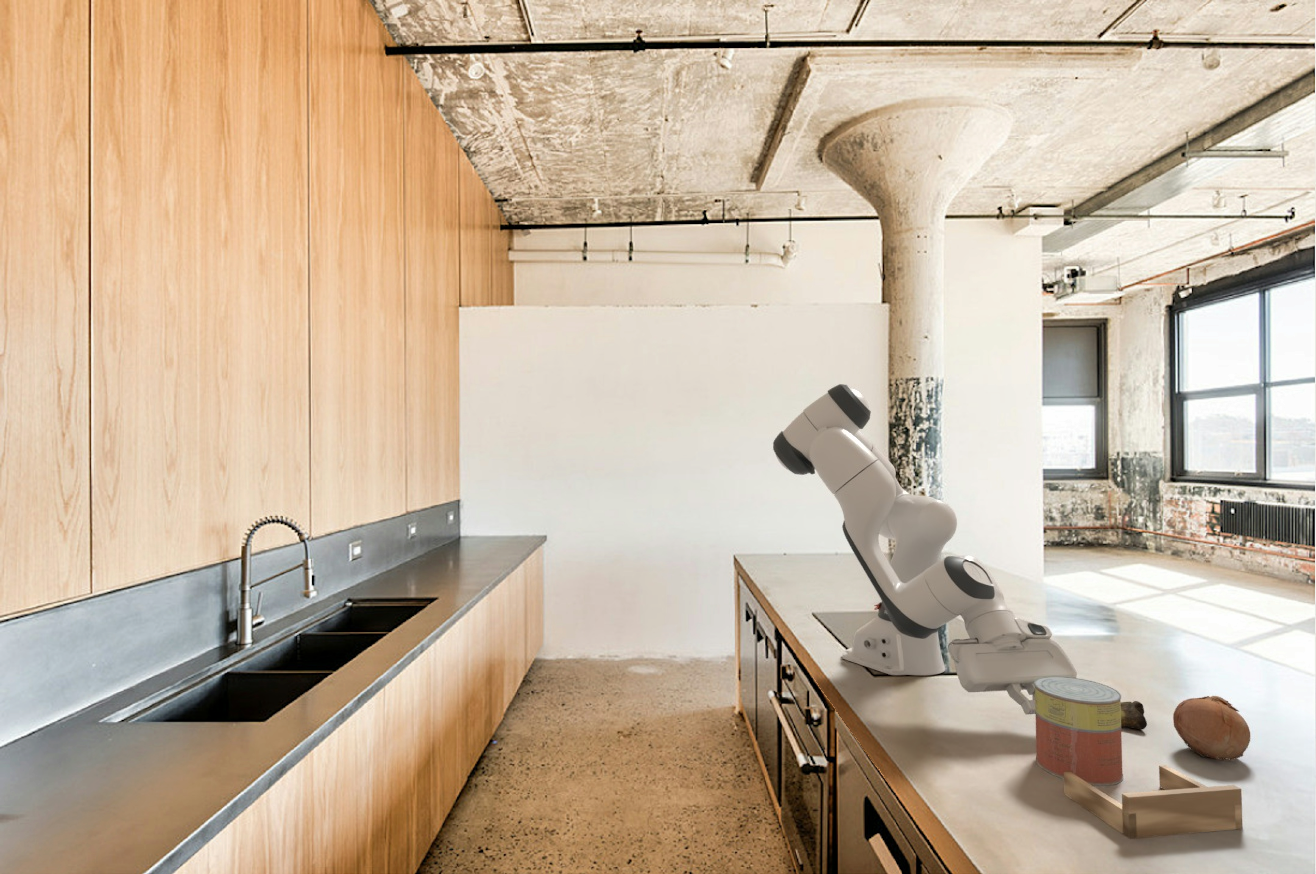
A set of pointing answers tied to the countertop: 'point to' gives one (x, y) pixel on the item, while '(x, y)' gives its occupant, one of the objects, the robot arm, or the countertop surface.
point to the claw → (1133, 715)
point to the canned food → (1079, 729)
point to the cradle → (1163, 806)
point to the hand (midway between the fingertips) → (1036, 712)
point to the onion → (1212, 727)
